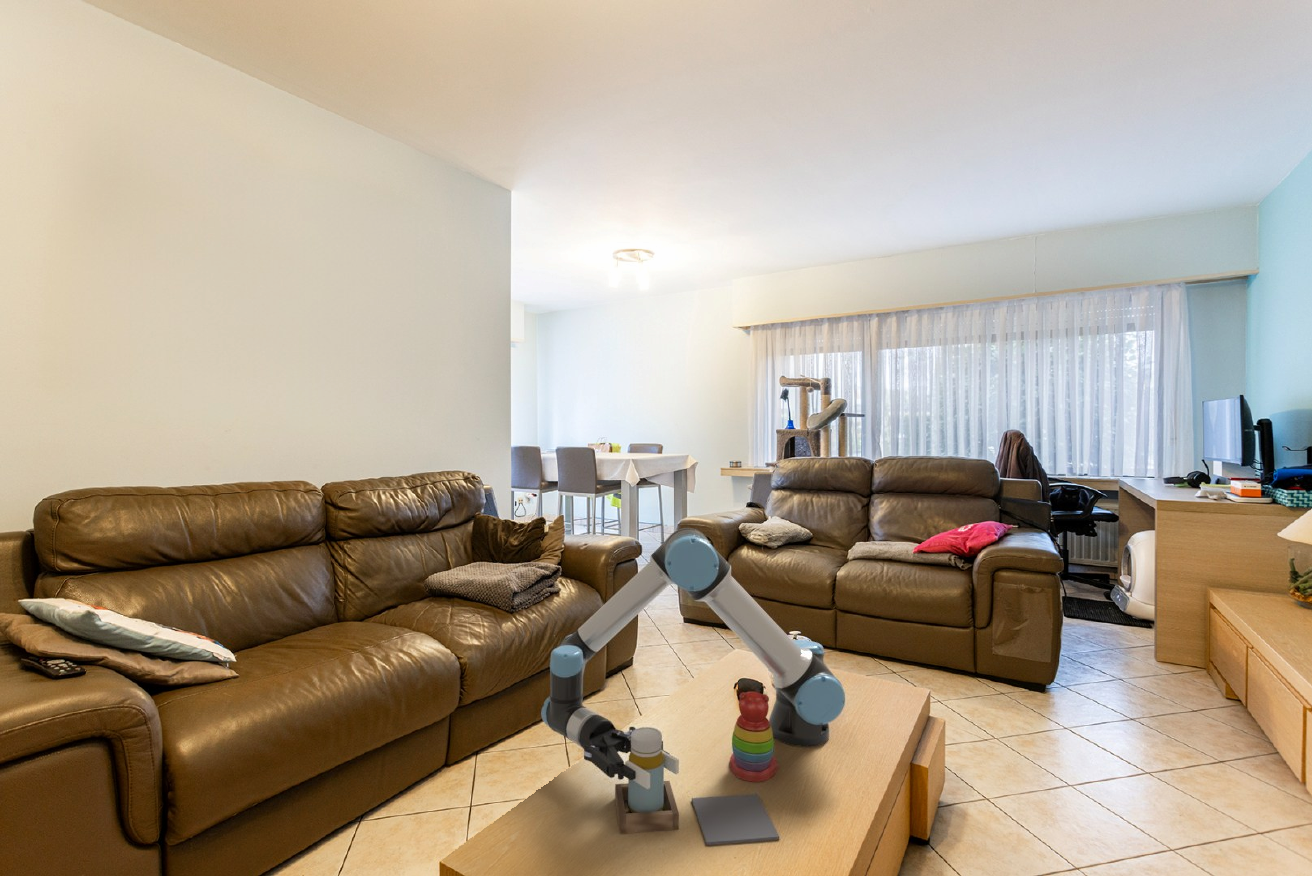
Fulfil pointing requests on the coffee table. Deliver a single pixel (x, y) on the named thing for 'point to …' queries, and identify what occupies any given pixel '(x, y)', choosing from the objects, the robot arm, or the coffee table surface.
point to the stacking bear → (753, 740)
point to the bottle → (651, 760)
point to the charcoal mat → (734, 819)
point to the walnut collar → (646, 813)
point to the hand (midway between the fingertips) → (663, 774)
